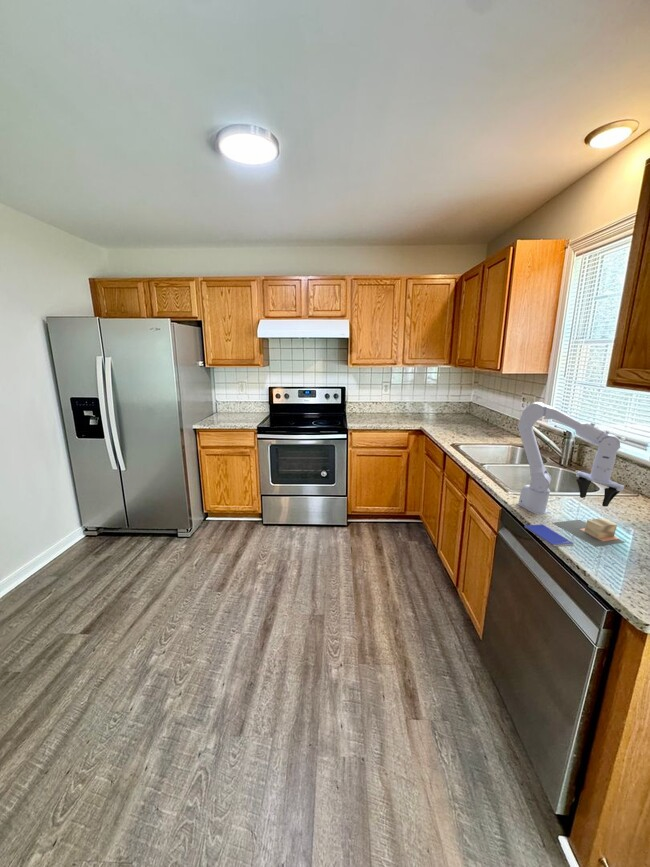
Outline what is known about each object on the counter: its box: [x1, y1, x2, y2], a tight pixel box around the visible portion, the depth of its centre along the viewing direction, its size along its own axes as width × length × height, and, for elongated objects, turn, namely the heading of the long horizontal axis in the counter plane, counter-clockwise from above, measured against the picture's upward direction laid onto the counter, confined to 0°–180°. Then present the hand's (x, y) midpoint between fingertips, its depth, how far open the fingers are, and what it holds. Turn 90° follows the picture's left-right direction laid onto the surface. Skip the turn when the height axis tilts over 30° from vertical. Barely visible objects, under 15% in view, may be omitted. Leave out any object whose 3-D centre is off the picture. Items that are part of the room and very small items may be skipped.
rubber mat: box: [552, 519, 626, 547], centre depth 118 cm, size 16×14×1 cm
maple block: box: [584, 517, 618, 538], centre depth 117 cm, size 8×4×4 cm, turn 105°
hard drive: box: [524, 524, 575, 547], centre depth 115 cm, size 2×8×12 cm
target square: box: [580, 528, 620, 541], centre depth 117 cm, size 8×8×1 cm
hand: (593, 501), depth 123 cm, fingers open, 7 cm apart
